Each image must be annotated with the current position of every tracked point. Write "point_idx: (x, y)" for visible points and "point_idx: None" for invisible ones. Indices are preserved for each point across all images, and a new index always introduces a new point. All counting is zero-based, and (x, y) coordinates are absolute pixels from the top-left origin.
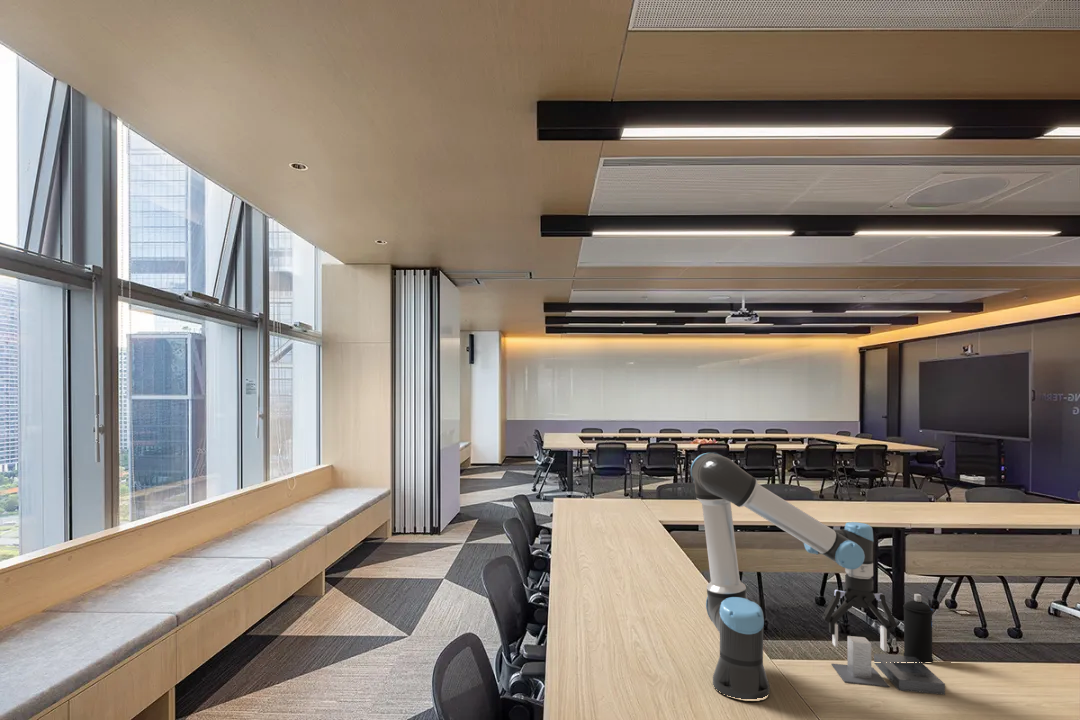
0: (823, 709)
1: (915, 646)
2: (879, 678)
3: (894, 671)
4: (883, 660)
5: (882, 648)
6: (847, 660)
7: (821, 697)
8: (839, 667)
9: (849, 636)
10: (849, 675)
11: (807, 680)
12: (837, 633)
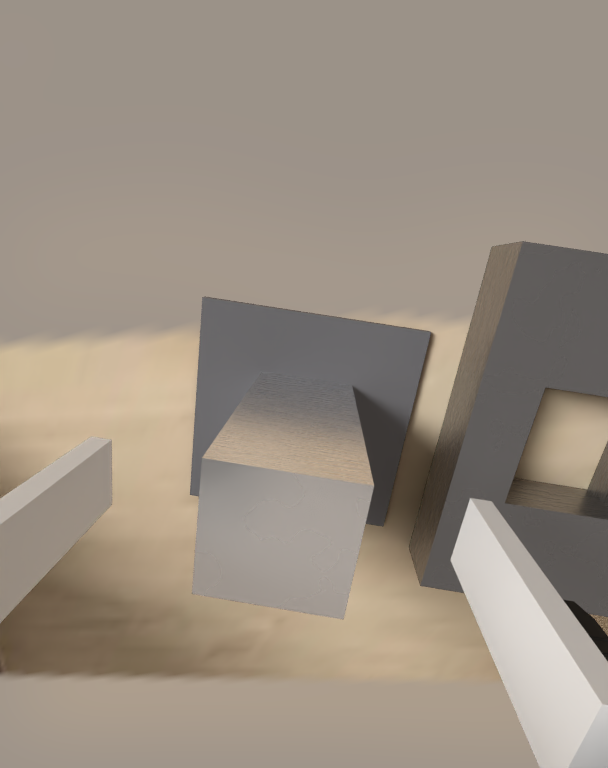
0: (38, 666)
1: None
2: (380, 462)
3: (462, 507)
4: (504, 364)
5: (461, 543)
6: (251, 387)
7: (52, 600)
8: (228, 348)
9: (217, 471)
10: None
11: (30, 476)
12: (26, 589)
